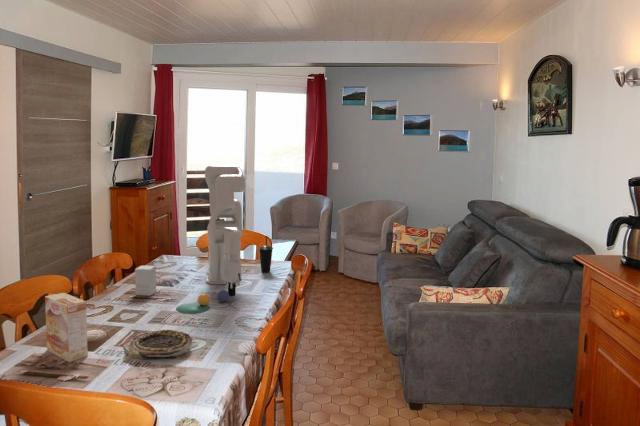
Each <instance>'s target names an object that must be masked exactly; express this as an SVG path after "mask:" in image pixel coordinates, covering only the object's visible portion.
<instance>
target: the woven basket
mask: <svg viewBox="0 0 640 426" xmlns="http://www.w3.org/2000/svg"><path fill="white" fill-rule="evenodd" d="M192 345H193V337H191V335H190V334H188V333H186V332H183V331H178V330H173V329H161V330H155V331H152V332H148V331H145V332H143V333H139V334H138V335H135V336H134V337H133V338H131V340H130V341H129V342H128V343H127V344H125V345H123V348H125V349H124V351H125V354H126V356H124V357H123V360H124V362H127V360H130V359H131V358H132V359H135V358H136V359H140V360H148V359H151V360H152V359H154V360H155V359H156V360H160V359H162V360H163V359H176V358H177V357H180V355H185V354H187V353H188V351H189V349H190V347H191V346H192ZM129 364H130V365H133V364H132V363H129Z"/></svg>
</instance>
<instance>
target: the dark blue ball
mask: <svg viewBox="0 0 640 426" xmlns="http://www.w3.org/2000/svg"><path fill="white" fill-rule="evenodd" d="M216 299H217V300H218V301H219V302H220V303H225V302H228V301H229V299H230V296H229V293H228V290H226V289H222V290H219V291H218V292H217V294H216Z"/></svg>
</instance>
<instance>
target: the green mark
mask: <svg viewBox="0 0 640 426" xmlns="http://www.w3.org/2000/svg"><path fill="white" fill-rule="evenodd" d="M208 310H210V306H209V304H208V305H206V306H201V305H200V304H199V303H198V302H190V303H188V302H187V303H184V304H180V305H178V306H176V311H177V312H178V313H182V314H187V313H188V314H189V315H193V314H201V313H204V312H207V311H208Z"/></svg>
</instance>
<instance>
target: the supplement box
mask: <svg viewBox="0 0 640 426" xmlns="http://www.w3.org/2000/svg"><path fill="white" fill-rule="evenodd" d="M156 270H157V269H156V265H140V266H138V267H136V268H135V269H134V278H135V280H134V281H135V296H152V295H153V294H155V293H156V292H157V276H156V275H157V273H156Z"/></svg>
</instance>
